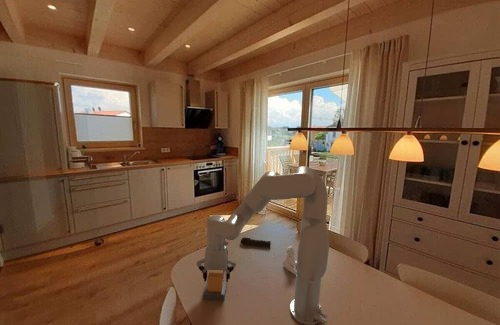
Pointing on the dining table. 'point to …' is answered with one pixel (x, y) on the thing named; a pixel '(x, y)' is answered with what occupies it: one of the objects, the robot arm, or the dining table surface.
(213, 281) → the orange cube
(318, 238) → the robot arm
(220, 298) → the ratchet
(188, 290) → the dining table surface
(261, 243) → the hand tool
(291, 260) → the seated beast figurine
